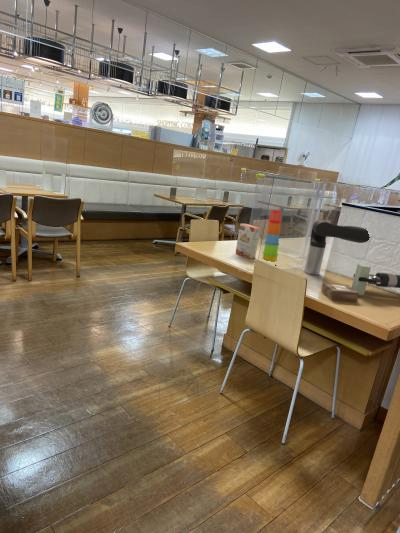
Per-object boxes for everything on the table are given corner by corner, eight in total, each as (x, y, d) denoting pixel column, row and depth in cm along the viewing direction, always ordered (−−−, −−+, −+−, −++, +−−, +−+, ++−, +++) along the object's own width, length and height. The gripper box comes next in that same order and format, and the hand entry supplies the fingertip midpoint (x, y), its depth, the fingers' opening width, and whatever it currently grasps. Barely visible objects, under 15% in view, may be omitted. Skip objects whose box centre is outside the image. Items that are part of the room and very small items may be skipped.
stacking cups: (273, 267, 241) (283, 212, 231) (258, 263, 245) (267, 209, 236) (279, 265, 249) (289, 211, 240) (264, 261, 254) (273, 209, 245)
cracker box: (234, 253, 265) (239, 223, 260) (241, 252, 269) (246, 223, 263) (248, 258, 255) (254, 227, 249) (255, 258, 259) (260, 227, 253)
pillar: (350, 291, 212) (357, 263, 207) (359, 292, 212) (366, 264, 208) (354, 294, 207) (362, 266, 202) (363, 295, 207) (371, 267, 203)
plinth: (321, 291, 206) (323, 282, 204) (345, 293, 208) (348, 284, 206) (330, 300, 194) (333, 290, 193) (356, 302, 196) (359, 292, 195)
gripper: (380, 269, 215) (351, 266, 212) (395, 277, 201) (364, 274, 199) (376, 282, 217) (348, 279, 214) (391, 291, 203) (361, 288, 201)
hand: (356, 277), depth 207 cm, fingers closed on pillar, 5 cm apart
